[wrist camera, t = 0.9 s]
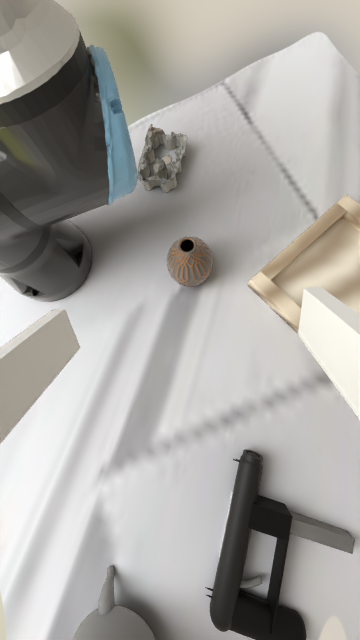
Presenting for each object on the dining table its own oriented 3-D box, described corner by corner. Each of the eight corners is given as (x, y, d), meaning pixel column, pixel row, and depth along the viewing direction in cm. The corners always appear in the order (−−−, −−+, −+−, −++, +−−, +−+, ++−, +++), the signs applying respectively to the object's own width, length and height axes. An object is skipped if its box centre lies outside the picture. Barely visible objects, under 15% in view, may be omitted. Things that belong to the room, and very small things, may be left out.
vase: (162, 271, 38) (150, 245, 30) (192, 245, 39) (189, 211, 30) (189, 299, 37) (185, 280, 28) (220, 272, 37) (225, 244, 29)
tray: (247, 285, 36) (250, 279, 34) (336, 205, 37) (346, 194, 34) (348, 382, 32) (360, 384, 29) (447, 290, 33) (466, 284, 30)
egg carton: (155, 143, 44) (150, 121, 40) (191, 149, 43) (190, 127, 39) (136, 189, 42) (129, 171, 38) (174, 197, 41) (170, 179, 37)
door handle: (365, 491, 28) (236, 452, 29) (341, 686, 25) (198, 631, 26) (347, 477, 31) (231, 442, 32) (324, 648, 28) (198, 601, 29)
